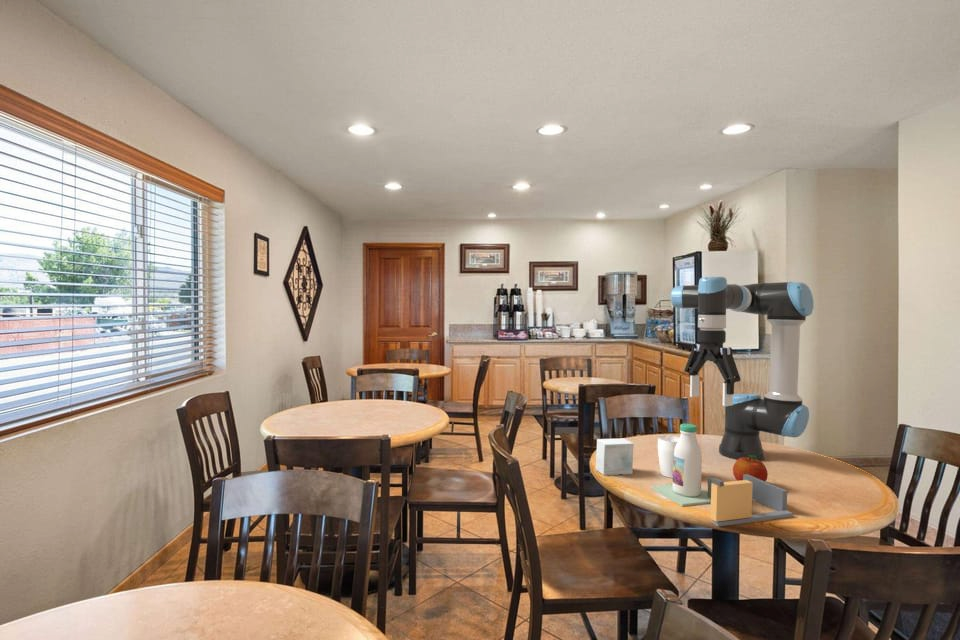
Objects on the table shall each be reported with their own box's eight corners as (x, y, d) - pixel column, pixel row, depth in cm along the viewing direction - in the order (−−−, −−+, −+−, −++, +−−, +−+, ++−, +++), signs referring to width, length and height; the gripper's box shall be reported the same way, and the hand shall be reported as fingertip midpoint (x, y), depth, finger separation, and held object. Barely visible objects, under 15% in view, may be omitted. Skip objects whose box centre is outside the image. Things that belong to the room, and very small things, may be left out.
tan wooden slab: (744, 513, 129) (745, 474, 129) (752, 517, 126) (754, 478, 126) (709, 517, 126) (710, 478, 126) (717, 522, 123) (718, 481, 123)
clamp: (746, 494, 146) (747, 474, 146) (794, 516, 131) (795, 494, 131) (675, 502, 139) (676, 481, 139) (717, 526, 124) (718, 502, 124)
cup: (688, 480, 157) (689, 443, 157) (658, 478, 159) (659, 441, 159) (682, 471, 166) (683, 436, 166) (654, 469, 168) (655, 434, 167)
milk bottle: (699, 489, 147) (701, 423, 147) (701, 499, 140) (704, 429, 140) (671, 486, 150) (673, 421, 149) (672, 495, 143) (674, 426, 142)
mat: (689, 484, 154) (690, 482, 154) (723, 501, 140) (723, 499, 140) (651, 488, 150) (651, 486, 150) (682, 506, 136) (682, 504, 136)
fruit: (761, 481, 158) (762, 450, 157) (771, 492, 148) (772, 459, 148) (728, 478, 160) (729, 448, 159) (737, 489, 150) (738, 456, 150)
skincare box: (603, 476, 160) (604, 444, 160) (595, 469, 166) (596, 438, 166) (633, 474, 162) (634, 442, 162) (623, 468, 169) (624, 437, 168)
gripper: (673, 327, 156) (672, 393, 157) (733, 332, 132) (731, 410, 133) (693, 326, 158) (692, 392, 159) (756, 331, 134) (754, 408, 135)
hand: (710, 400), depth 146 cm, fingers open, 13 cm apart
